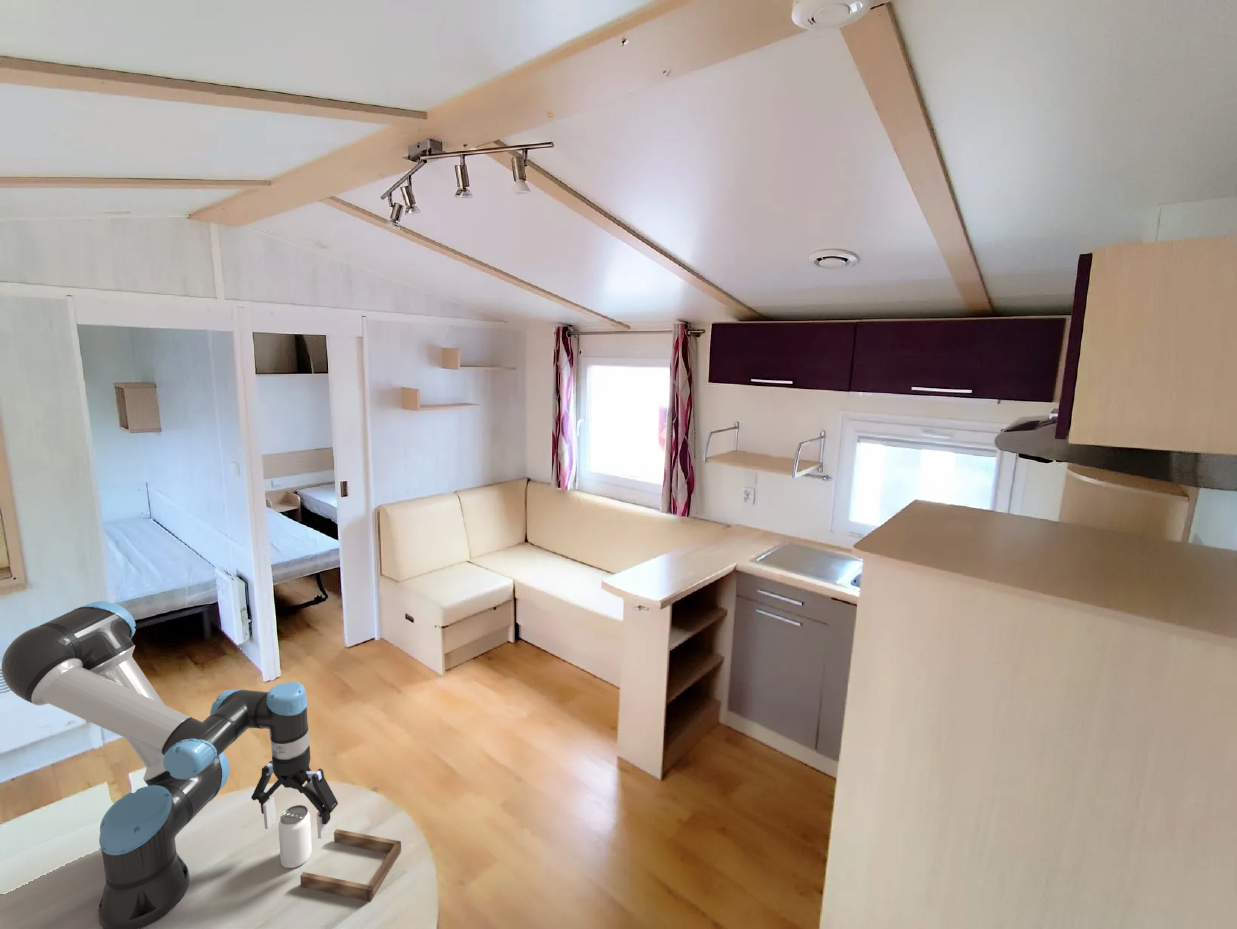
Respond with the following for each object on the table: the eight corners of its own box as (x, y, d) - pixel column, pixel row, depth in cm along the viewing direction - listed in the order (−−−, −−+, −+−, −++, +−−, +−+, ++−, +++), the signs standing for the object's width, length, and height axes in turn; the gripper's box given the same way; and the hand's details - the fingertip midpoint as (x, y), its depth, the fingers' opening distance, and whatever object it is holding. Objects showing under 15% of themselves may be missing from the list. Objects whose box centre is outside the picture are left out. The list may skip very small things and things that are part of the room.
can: (298, 872, 132) (295, 828, 130) (274, 865, 133) (271, 822, 131) (318, 849, 138) (316, 806, 136) (294, 843, 139) (292, 800, 137)
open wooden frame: (300, 886, 129) (300, 875, 128) (336, 839, 141) (336, 828, 141) (370, 901, 126) (370, 890, 126) (401, 851, 139) (400, 841, 138)
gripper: (228, 753, 128) (236, 833, 132) (330, 769, 125) (335, 851, 129) (254, 731, 135) (261, 808, 139) (351, 746, 132) (355, 824, 136)
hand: (296, 829), depth 134 cm, fingers open, 13 cm apart
